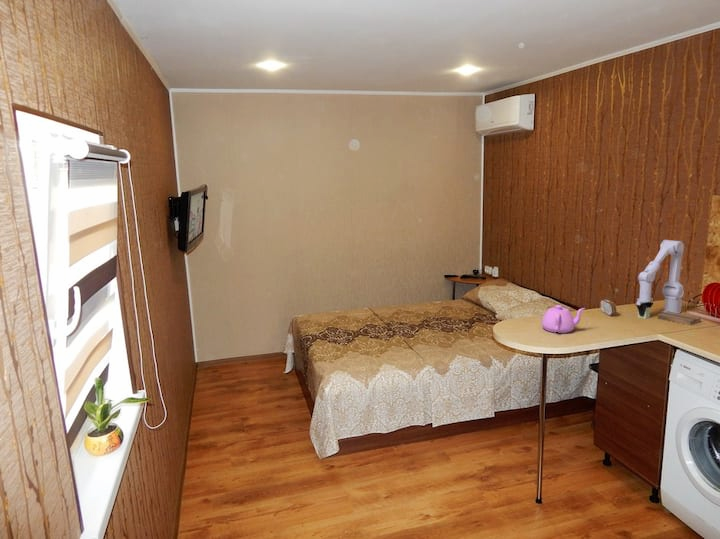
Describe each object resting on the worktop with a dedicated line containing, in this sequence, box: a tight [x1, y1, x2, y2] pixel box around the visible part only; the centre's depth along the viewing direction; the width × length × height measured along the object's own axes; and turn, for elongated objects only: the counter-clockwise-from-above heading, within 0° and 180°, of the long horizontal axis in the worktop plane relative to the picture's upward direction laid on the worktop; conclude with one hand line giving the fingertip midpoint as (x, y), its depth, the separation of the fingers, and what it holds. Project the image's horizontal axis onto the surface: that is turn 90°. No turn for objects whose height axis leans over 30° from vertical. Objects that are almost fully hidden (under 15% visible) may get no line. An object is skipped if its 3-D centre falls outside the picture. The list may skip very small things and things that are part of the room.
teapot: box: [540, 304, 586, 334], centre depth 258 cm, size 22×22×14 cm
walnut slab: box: [657, 311, 701, 326], centre depth 268 cm, size 11×17×3 cm, turn 30°
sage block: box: [637, 307, 651, 320], centre depth 276 cm, size 4×4×6 cm
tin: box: [600, 298, 617, 317], centre depth 286 cm, size 15×3×8 cm, turn 179°
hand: (643, 315), depth 276 cm, fingers closed on sage block, 4 cm apart
